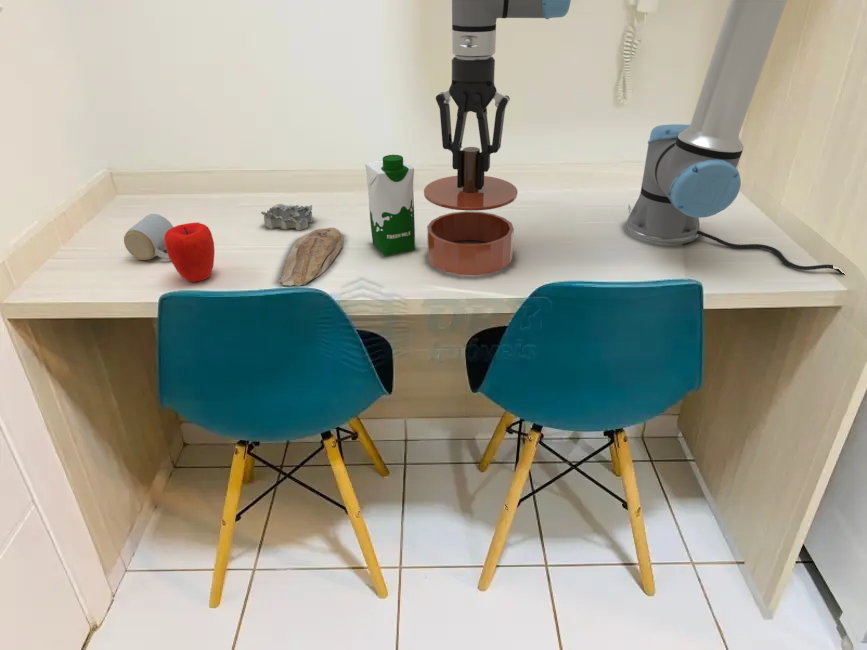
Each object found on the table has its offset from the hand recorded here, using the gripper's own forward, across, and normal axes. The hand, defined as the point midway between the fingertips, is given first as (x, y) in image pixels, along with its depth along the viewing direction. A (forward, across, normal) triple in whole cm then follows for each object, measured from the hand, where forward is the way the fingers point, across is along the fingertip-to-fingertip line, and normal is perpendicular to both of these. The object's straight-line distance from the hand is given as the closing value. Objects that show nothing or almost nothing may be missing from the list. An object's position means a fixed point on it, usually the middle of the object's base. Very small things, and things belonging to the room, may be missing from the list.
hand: (470, 186), depth 122 cm
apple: (+16, -50, -22) cm, 57 cm away
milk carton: (+16, -17, +1) cm, 23 cm away
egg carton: (+16, -45, +7) cm, 48 cm away
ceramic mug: (+16, -64, -15) cm, 68 cm away
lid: (+1, 0, 0) cm, 1 cm away
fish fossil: (+16, -32, -8) cm, 36 cm away
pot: (+15, 0, 0) cm, 15 cm away
